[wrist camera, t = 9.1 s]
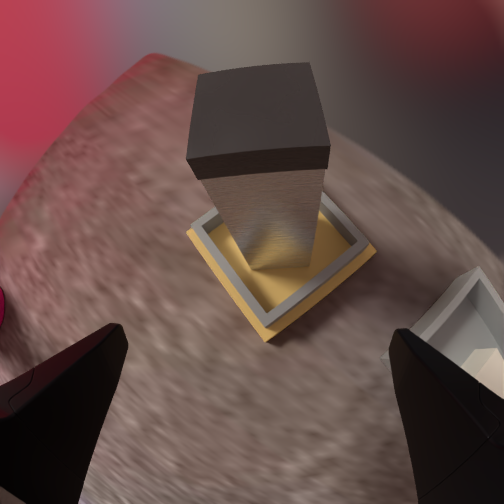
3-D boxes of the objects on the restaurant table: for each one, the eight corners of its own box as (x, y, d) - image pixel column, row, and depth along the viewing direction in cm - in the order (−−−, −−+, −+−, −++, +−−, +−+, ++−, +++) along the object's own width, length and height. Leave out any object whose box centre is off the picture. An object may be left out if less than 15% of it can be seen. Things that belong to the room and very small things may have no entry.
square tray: (373, 255, 20) (383, 243, 18) (266, 342, 20) (262, 342, 17) (289, 165, 24) (288, 147, 21) (190, 236, 23) (178, 224, 20)
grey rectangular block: (310, 267, 20) (330, 145, 8) (250, 270, 20) (186, 159, 8) (305, 212, 21) (309, 62, 9) (249, 216, 22) (198, 74, 9)
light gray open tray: (518, 377, 15) (543, 378, 12) (452, 457, 14) (473, 470, 11) (456, 277, 19) (479, 265, 15) (379, 357, 18) (396, 360, 15)
